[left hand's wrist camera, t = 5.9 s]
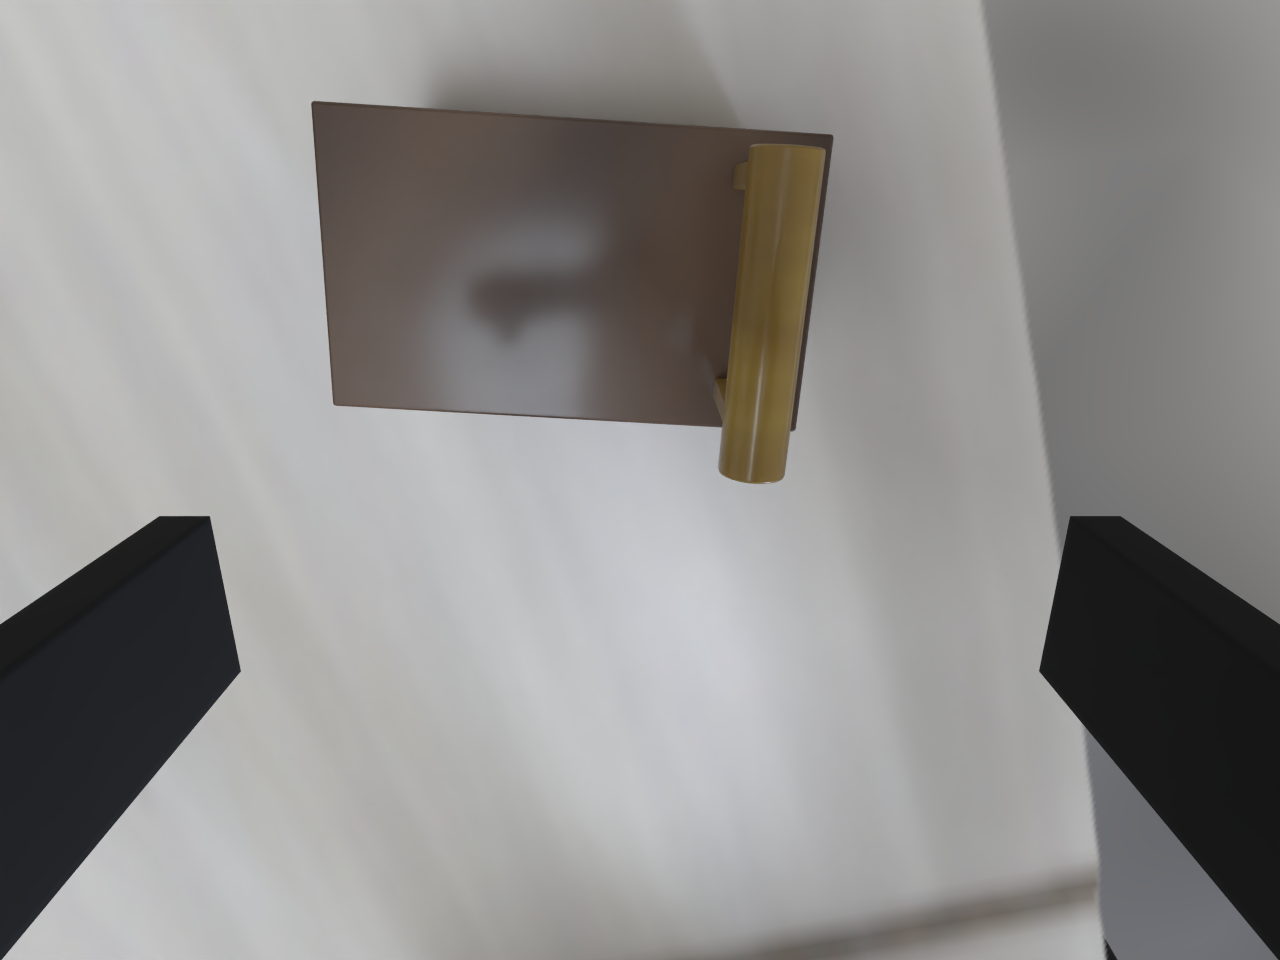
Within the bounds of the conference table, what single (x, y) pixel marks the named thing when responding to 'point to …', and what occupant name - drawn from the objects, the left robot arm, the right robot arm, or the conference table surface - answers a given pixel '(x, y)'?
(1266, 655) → the left robot arm
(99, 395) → the conference table surface
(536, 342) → the lid
